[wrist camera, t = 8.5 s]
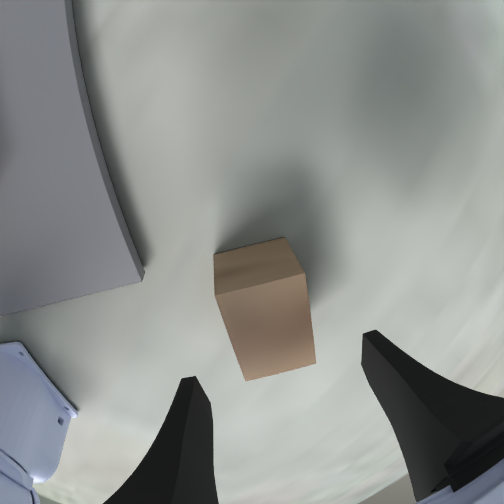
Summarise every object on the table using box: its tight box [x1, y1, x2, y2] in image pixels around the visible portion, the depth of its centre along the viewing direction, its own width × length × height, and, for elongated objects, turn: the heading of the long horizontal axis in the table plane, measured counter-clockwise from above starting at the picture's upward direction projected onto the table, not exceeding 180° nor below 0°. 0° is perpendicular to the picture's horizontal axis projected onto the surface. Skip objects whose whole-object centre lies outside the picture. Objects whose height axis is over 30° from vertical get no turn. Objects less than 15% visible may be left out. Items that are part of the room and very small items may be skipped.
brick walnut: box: [214, 237, 316, 381], centre depth 16 cm, size 6×4×4 cm, turn 12°
